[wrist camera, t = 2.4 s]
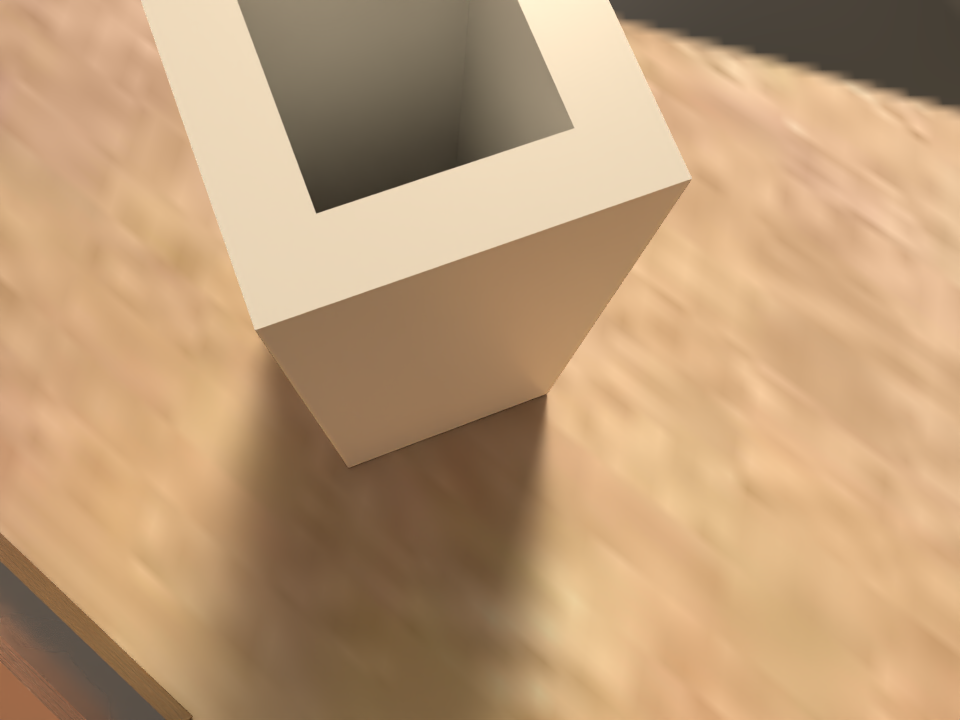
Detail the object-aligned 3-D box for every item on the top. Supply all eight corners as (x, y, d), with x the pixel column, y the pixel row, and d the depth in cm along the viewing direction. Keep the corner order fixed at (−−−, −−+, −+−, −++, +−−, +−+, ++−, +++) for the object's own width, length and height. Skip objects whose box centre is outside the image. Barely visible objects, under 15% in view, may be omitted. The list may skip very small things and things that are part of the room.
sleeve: (547, 393, 22) (691, 178, 10) (348, 468, 21) (254, 329, 9) (472, 209, 23) (524, -181, 11) (279, 274, 22) (117, -69, 10)
